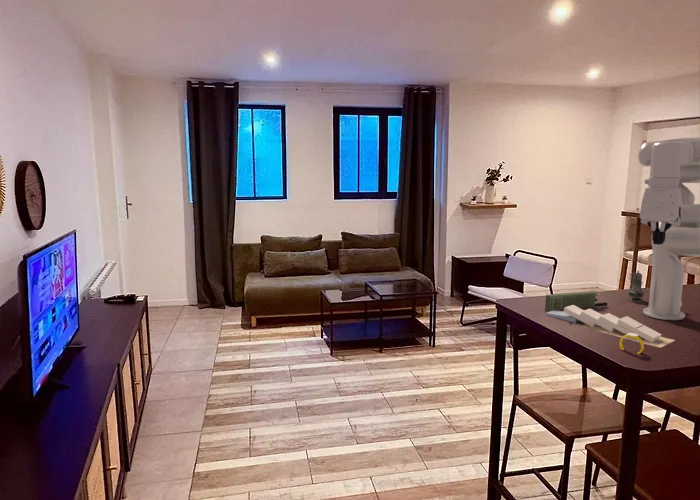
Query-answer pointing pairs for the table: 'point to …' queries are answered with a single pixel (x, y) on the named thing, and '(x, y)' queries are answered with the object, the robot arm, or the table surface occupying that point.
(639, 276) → the dark grey tall piece
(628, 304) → the table surface
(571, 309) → the domino
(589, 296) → the handheld radio
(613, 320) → the domino
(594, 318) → the domino
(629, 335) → the yellow wristwatch
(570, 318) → the domino
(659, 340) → the board
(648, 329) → the domino
